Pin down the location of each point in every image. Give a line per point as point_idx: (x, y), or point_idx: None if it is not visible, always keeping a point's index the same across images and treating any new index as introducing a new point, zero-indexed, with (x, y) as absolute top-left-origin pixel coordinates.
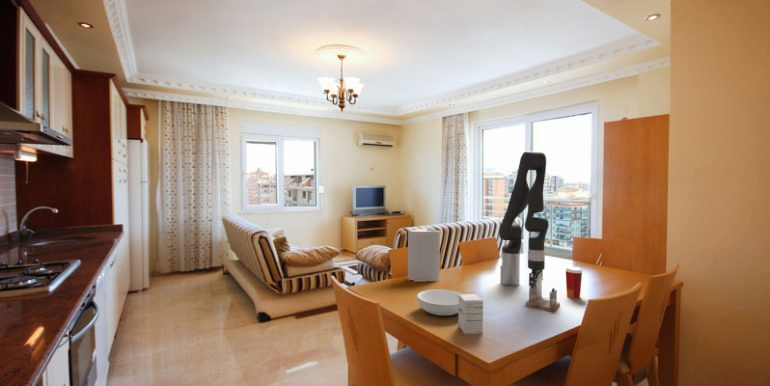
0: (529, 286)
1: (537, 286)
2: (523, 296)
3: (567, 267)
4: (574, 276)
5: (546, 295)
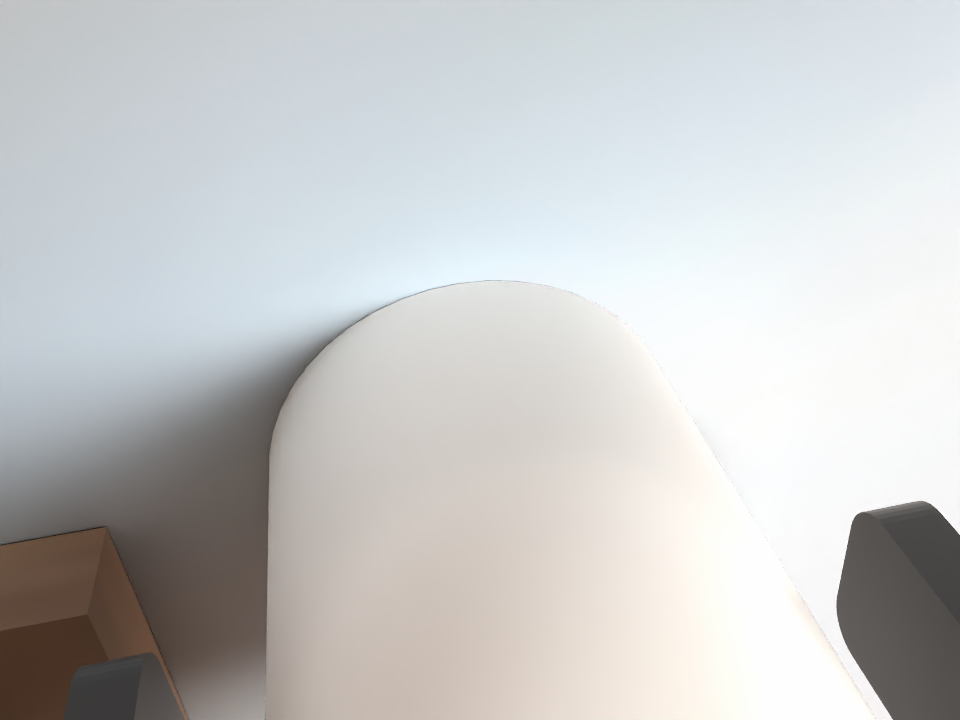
0: (385, 716)
1: None
2: (306, 106)
3: None
4: None
5: None
